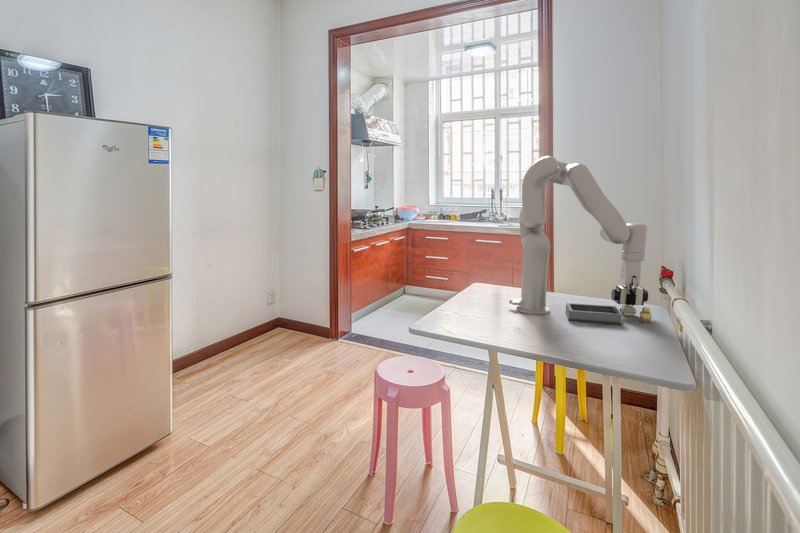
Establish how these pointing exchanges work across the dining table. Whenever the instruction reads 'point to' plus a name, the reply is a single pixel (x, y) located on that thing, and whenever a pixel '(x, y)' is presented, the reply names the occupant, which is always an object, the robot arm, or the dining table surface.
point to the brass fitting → (645, 315)
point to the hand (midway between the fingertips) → (628, 301)
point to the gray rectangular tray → (593, 314)
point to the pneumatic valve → (620, 298)
